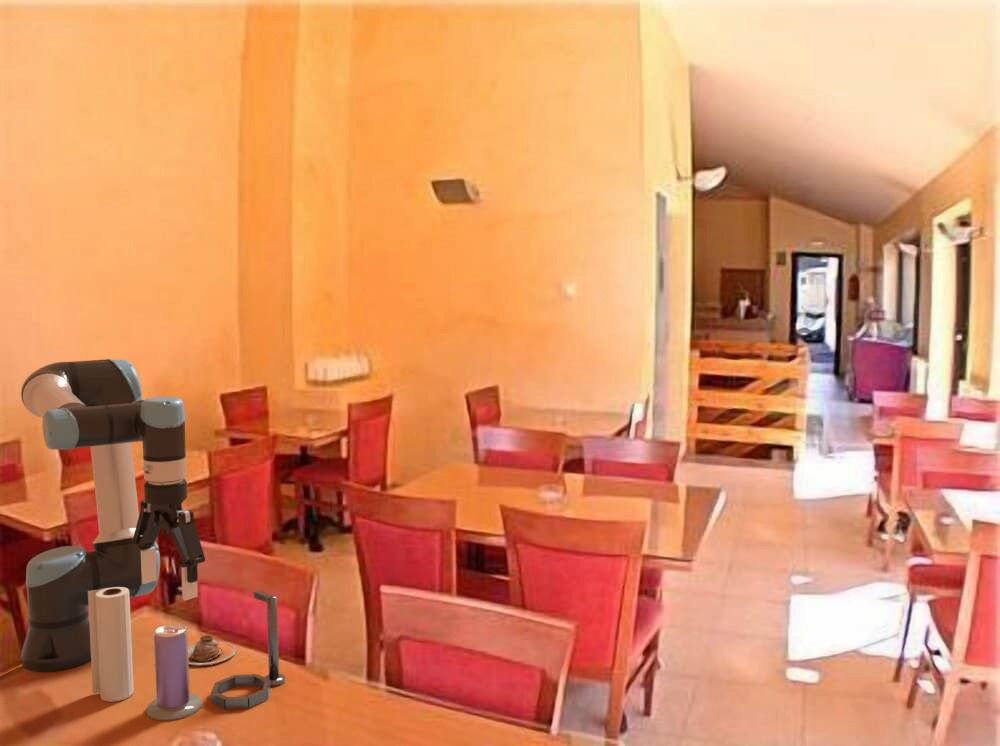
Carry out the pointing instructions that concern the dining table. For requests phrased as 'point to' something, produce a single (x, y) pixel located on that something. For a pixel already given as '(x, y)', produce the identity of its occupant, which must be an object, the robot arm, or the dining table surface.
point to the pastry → (207, 651)
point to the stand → (254, 679)
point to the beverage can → (171, 667)
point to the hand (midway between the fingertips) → (169, 589)
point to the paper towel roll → (111, 643)
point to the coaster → (162, 715)
